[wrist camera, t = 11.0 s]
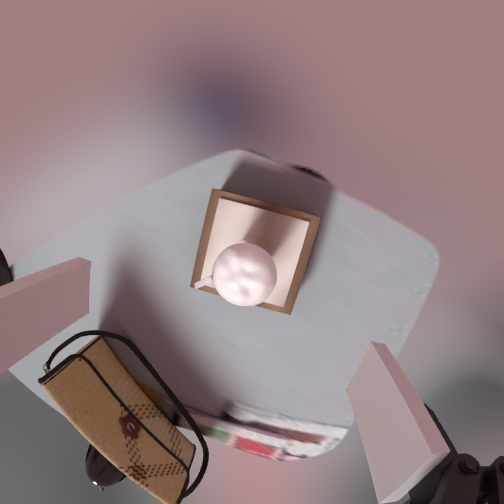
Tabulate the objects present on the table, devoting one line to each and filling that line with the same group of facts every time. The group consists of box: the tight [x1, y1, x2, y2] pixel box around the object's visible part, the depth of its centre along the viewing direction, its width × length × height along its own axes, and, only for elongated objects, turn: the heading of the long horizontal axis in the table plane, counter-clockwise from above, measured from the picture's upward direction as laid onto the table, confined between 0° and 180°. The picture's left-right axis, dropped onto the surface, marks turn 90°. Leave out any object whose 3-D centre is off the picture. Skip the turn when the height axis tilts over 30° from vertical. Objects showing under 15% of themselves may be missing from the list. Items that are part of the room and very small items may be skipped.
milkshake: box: [194, 237, 277, 306], centre depth 22 cm, size 4×5×10 cm
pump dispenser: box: [85, 443, 127, 491], centre depth 33 cm, size 10×10×15 cm
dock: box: [190, 189, 321, 315], centre depth 29 cm, size 11×10×4 cm
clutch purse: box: [38, 330, 209, 504], centre depth 30 cm, size 30×7×15 cm, turn 31°
